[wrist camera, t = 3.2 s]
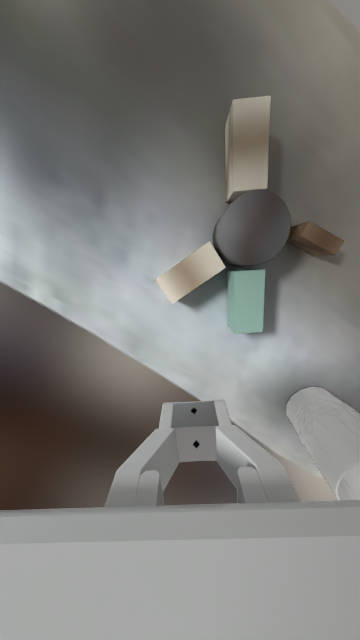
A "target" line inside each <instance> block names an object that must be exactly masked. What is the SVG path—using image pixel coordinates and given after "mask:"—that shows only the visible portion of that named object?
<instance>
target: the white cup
mask: <svg viewBox="0 0 360 640" xmlns="http://www.w3.org/2000/svg"><path fill="white" fill-rule="evenodd" d="M286 415H287V417H288V418H289V420H290V422H291V423H292V425H293V427H294V428H295V430H296V432H297V435H298V437H299V438H300V440H301V441H302V443H303V445H304V447H305V448H306V450H307V451H308V453H309V455H310V457H311V458H312V460H313V461H314V463H315V465H316V466H317V468H318V469H319V471H320V473H321V474H322V476H323V477H324V479H325V481H326V482H327V484H328V485H329V487H330V489H331V490H332V492H333V493H334V495H335V497H336V498H337V500H360V413H358V412H357V411H356V410H354V409H353V408H351V407H350V406H349V405H347V404H346V403H345V402H342V401H341V400H339V399H338V398H337V397H336V396H334V395H333V394H332V393H330V392H329V391H327V390H325V389H324V388H320V387H308V388H305V389H301V390H299V391H298V392H297V393H295V394H294V395H292V396H291V398H290V399H289V401H288V403H287V405H286Z"/></svg>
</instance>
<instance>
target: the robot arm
mask: <svg viewBox="0 0 360 640" xmlns="http://www.w3.org/2000/svg"><path fill="white" fill-rule="evenodd" d="M197 459H198V460H197ZM188 461H217V462H218V464H219V465H220V466H221V468H222V469H223V471H224V472H225V473H226V475H227V476H228V477H229V479H230V480H231V482H232V483H233V484H234V486H235V487H236V488H237V490H238V503H236V504H203V505H169V506H164V501H163V495H162V493H163V491H164V489H165V487H166V485H167V483H168V482H169V480H170V478H171V476H172V474H173V473H174V471H175V469H176V467H177V465H178V462H188ZM0 640H360V500H335V501H334V500H333V501H300V499H299V497H298V495H297V493H296V491H295V489H294V487H293V485H292V483H291V481H290V479H289V477H288V475H287V473H286V471H285V469H284V467H283V465H282V464H281V463H280V462H279V461H277V460H276V459H275V458H274V457H272V456H271V455H270V454H269V453H268V452H267V451H265V450H264V449H263V448H262V447H261V446H259V445H258V444H257V443H256V442H255V441H253V440H252V439H251V438H250V437H249V436H247V435H246V434H245V433H244V432H243V431H241V430H240V429H239V428H238V427H237V426H235V425H232V424H231V421H230V417H229V414H228V411H227V408H226V404H225V401H224V400H213V401H200V402H174V403H163V406H162V413H161V419H160V425H159V429H155V431H154V432H153V433H152V434H151V435H150V436H149V437H148V438H147V439H146V440H145V441H144V442H143V443H142V444H141V445H140V447H139V448H138V449H137V450H136V451H135V452H134V453H133V454H132V455H131V456H130V457H129V458H128V459H127V460H126V461H125V462H124V463H123V465H122V466H121V467H120V468H119V469H118V470H117V472H116V474H115V477H114V480H113V483H112V486H111V489H110V492H109V495H108V498H107V501H106V504H105V507H103V508H72V509H71V508H70V509H41V510H40V509H38V510H7V511H6V510H4V511H0Z"/></svg>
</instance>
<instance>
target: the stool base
mask: <svg viewBox="0 0 360 640" xmlns="http://www.w3.org/2000/svg"><path fill="white" fill-rule="evenodd" d="M270 101H271V95H270V96H261V97H252V98H243V99H234V100H233V102H232V105H231V108H230V111H229V115H228V118H227V121H226V125H225V164H226V203H227V202H232V203H231V204H230V206H229V207H228V208H227V210H226V211H225V212H224V214H223V215H222V216H221V217H220V219H219V220H218V222H217V224H216V226H215V228H214V232H213V245H214V247H213V246H212V244H211V242H210V241H209V242H207V243H206V244H205V245H203V246H202V247H201V248H199V249H198V250H196V251H195V252H194V253H192V254H191V255H189V256H188V257H187V258H185V259H184V260H182V261H181V262H180V263H178V264H177V265H176V266H174V267H173V268H171V269H170V270H169V271H167V272H166V273H164V274H163V275H162V276H160V277H159V278H158V279H156V282H157V283H158V285H159V286H160V287H161V289H162V290H163V292H164V293H165V294H166V296H167V297H168V299H169V300H170V301H171V303H172V304H173V303H175V302H176V301H178V300H179V299H181V298H182V297H183V296H185V295H186V294H188V293H189V292H191V291H192V290H194V289H195V288H197V287H198V286H200V285H201V284H203V283H204V282H205V281H207V280H208V279H210V278H211V277H213V276H214V275H216V274H217V273H219V272H220V271H222V270H223V269H224V268H226V267H225V265H224V264H223V262H222V260H223V261H224V262H226V263H228V264H231V265H236V266H237V265H258V264H262V263H265V262H267V261H269V260H271V259H272V258H273V257H275V256H276V255H277V254H278V253H279V252H280V251H281V250H282V248H283V247H284V245H285V243H286V241H287V242H288V243H290V244H292V245H294V246H296V247H298V248H299V249H301V250H303V251H305V252H307V253H309V254H310V255H312V256H326V255H335V254H336V252H337V251H338V249H339V248H340V246H341V245H342V243H343V242H344V240H342V239H340V238H338V237H337V236H335V235H333V234H331V233H330V232H328V231H326V230H324V229H323V228H321V227H319V226H317V225H316V224H314V223H312V222H310V221H308V222H305V223H302V224H300V225H297V226H294V227H291V229H290V223H291V221H290V214H289V211H288V208H287V206H286V204H285V203H284V202H283V200H282V199H281V198H280V197H279V196H277V195H276V194H274V193H272V192H270V191H267V190H266V189H267V180H268V154H269V128H270ZM214 248H215V249H214ZM220 258H221V259H222V260H221V259H220Z"/></svg>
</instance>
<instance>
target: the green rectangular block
mask: <svg viewBox="0 0 360 640" xmlns="http://www.w3.org/2000/svg"><path fill="white" fill-rule="evenodd" d="M227 273H228V326H229V327H230V329H231V330H232V331H233V332H234V334H240V333H254V332H263V316H264V291H265V269H247V270H235V271H227Z"/></svg>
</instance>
